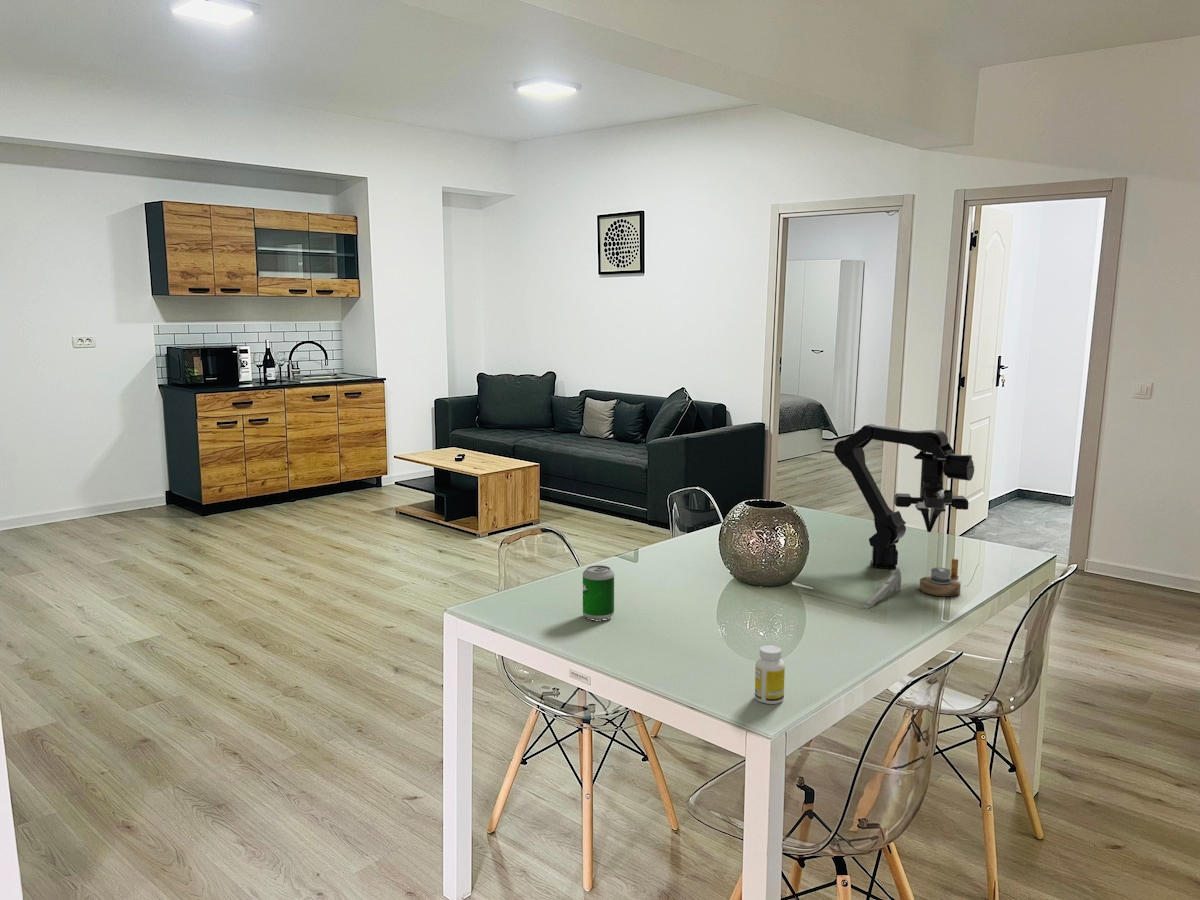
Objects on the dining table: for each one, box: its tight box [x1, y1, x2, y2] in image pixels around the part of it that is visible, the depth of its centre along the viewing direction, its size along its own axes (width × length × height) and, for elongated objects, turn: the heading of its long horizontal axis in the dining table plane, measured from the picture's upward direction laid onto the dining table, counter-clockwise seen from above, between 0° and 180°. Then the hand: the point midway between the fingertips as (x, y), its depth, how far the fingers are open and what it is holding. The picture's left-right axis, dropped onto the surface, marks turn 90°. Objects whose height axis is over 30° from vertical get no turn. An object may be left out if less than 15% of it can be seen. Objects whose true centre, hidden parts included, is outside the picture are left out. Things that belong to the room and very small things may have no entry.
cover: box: [930, 567, 951, 585], centre depth 233 cm, size 5×5×3 cm
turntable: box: [919, 558, 962, 597], centre depth 234 cm, size 14×10×7 cm
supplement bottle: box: [754, 645, 786, 705], centre depth 168 cm, size 5×5×10 cm
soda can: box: [582, 564, 615, 620], centre depth 213 cm, size 8×8×12 cm
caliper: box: [863, 567, 902, 610], centre depth 227 cm, size 20×1×6 cm, turn 139°
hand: (928, 531), depth 247 cm, fingers closed
